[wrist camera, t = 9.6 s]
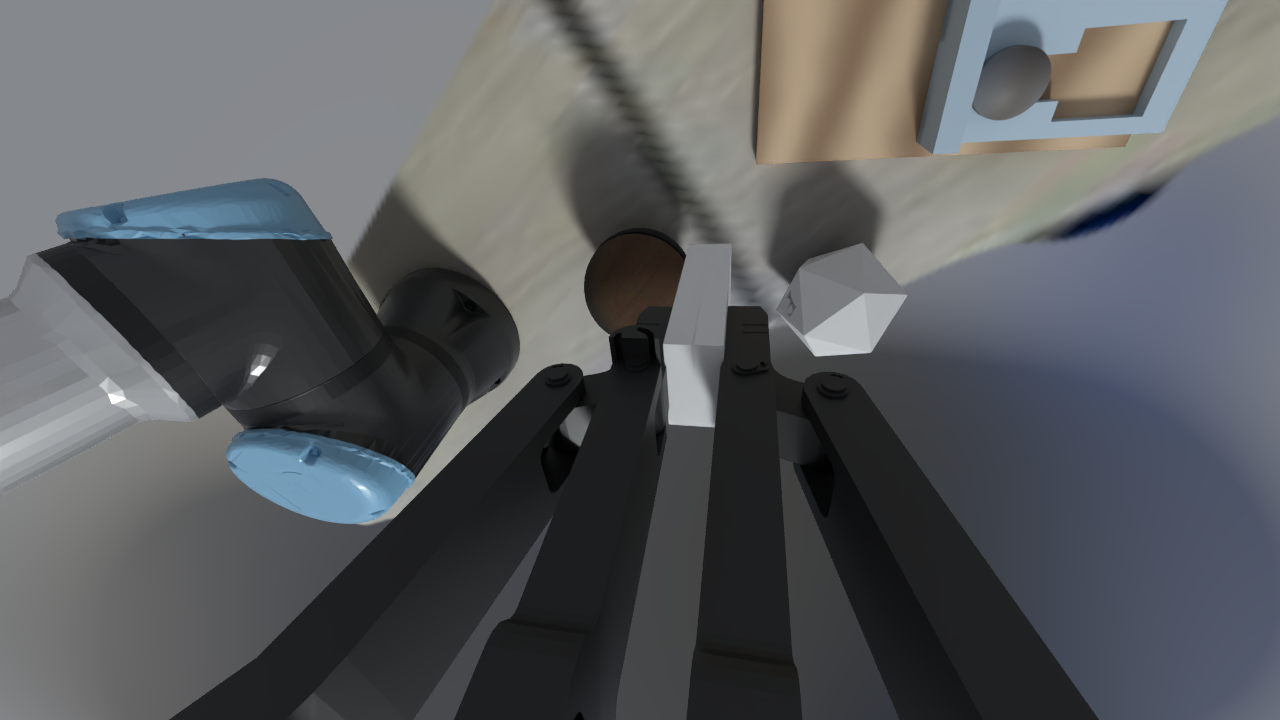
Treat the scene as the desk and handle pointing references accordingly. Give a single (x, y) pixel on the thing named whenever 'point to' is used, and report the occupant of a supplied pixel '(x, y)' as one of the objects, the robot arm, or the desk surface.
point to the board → (924, 80)
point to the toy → (632, 276)
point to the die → (841, 302)
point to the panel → (1055, 22)
